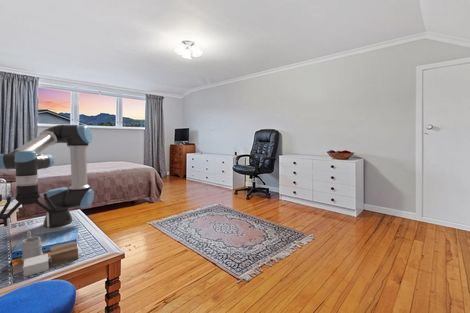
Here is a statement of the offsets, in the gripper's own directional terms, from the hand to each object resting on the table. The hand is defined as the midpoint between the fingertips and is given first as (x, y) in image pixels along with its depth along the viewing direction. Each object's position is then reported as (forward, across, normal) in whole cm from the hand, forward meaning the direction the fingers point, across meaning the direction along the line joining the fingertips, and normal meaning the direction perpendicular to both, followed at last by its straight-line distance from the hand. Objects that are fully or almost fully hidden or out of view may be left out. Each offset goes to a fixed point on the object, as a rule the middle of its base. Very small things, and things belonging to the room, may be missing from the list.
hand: (29, 229), depth 109 cm
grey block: (+14, +2, -13) cm, 19 cm away
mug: (+14, 0, 0) cm, 14 cm away
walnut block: (+14, +12, -9) cm, 21 cm away
